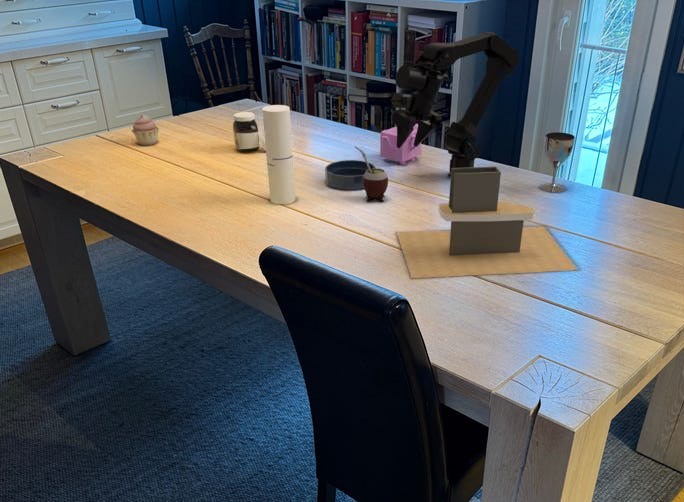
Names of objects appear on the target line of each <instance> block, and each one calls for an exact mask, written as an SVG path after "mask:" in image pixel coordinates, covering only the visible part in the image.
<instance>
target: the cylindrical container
mask: <svg viewBox="0 0 684 502" xmlns="http://www.w3.org/2000/svg"><path fill="white" fill-rule="evenodd" d="M261 111H262V122H263V123H262V124H263V130H264V134H265V145H266V151H265V156H266V166H267V167H266V168H267V178H268V190H269V202H270V203H272V204H275V205H289V204H292V203H294V202H296V199H297V197H296V184H295V168H294V155H293V153H294V152H293V139H292V137H293V136H292V124H291V109H290V106H288V105H284V104H271V105H266V106H263V107H262V108H261Z"/></svg>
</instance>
